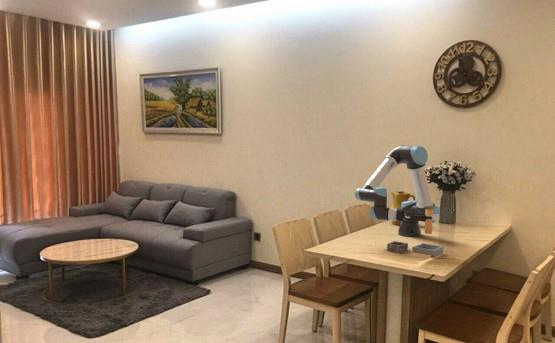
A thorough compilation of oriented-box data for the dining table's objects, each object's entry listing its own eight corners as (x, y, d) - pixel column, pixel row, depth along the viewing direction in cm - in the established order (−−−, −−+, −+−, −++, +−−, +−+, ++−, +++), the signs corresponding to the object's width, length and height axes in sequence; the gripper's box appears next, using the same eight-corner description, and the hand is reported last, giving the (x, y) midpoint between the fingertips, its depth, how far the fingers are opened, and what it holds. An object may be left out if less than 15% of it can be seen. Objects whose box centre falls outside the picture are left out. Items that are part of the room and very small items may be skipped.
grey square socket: (383, 253, 266) (383, 243, 265) (393, 249, 275) (393, 240, 274) (402, 256, 258) (402, 247, 257) (411, 252, 267) (411, 243, 266)
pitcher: (396, 220, 365) (398, 189, 361) (417, 224, 350) (418, 192, 347) (383, 223, 354) (384, 191, 350) (403, 228, 340) (405, 195, 336)
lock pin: (421, 233, 263) (422, 205, 262) (425, 231, 267) (426, 204, 266) (430, 234, 259) (431, 206, 258) (435, 233, 263) (436, 205, 262)
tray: (412, 253, 264) (412, 247, 263) (422, 249, 273) (422, 242, 273) (434, 257, 255) (434, 250, 255) (443, 253, 265) (443, 246, 264)
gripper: (399, 218, 278) (439, 221, 268) (394, 223, 262) (437, 226, 253) (399, 206, 277) (440, 208, 268) (394, 210, 262) (437, 213, 252)
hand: (438, 217), depth 260 cm, fingers closed on lock pin, 4 cm apart
